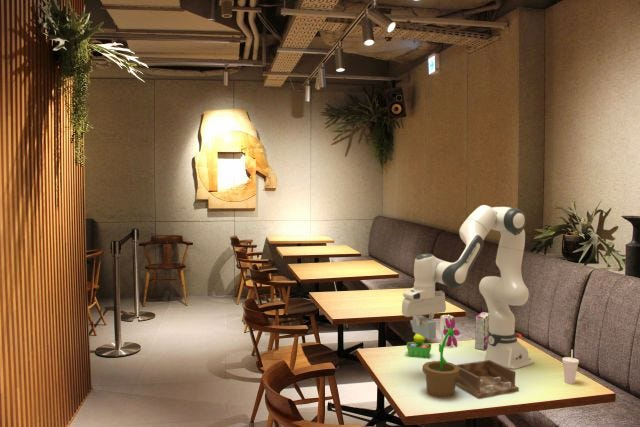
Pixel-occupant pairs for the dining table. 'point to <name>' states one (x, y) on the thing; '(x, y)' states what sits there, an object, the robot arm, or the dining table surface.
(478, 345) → the candy bar box
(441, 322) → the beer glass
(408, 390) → the dining table surface
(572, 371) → the smoothie
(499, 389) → the wooden box
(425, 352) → the fruit basket
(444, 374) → the flowerpot
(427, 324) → the grey box with stripe
